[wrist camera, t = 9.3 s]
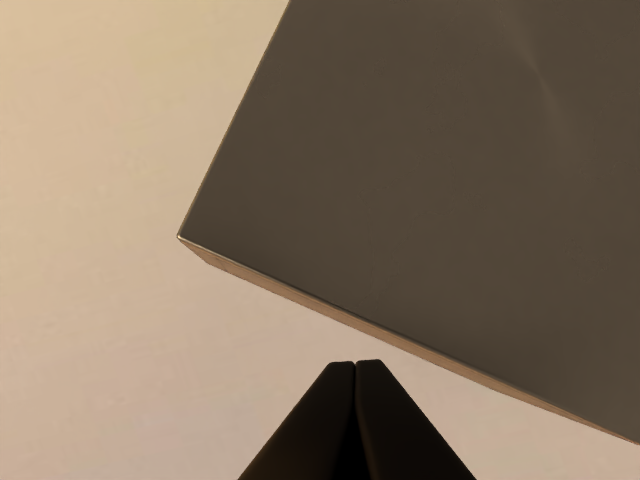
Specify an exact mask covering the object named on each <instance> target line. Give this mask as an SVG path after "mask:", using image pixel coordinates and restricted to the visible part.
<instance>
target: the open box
mask: <svg viewBox="0 0 640 480" xmlns="http://www.w3.org/2000/svg"><path fill="white" fill-rule="evenodd" d="M180 242H181V241H180ZM181 243H182V242H181ZM183 244H184V243H183ZM184 245H185V246H186V247H188V248H189V249H190V250H191V251H193V252H194V253H195V254H196V255H197V256H199V257H200V258H201V259H202V260H204V261H205V262H206V263H208V264H210V265H212V266H214V267H216V268H219V269H221V270H223V271H226V272H228V273H230V274H232V275H235V276H237V277H239V278H241V279H244V280H246V281H248V282H250V283H253V284H255V285H257V286H259V287H262V288H264V289H266V290H269V291H271V292H273V293H275V294H278V295H280V296H282V297H284V298H287V299H289V300H291V301H293V302H296V303H298V304H300V305H302V306H305V307H307V308H309V309H311V310H314V311H316V312H318V313H321V314H323V315H325V316H327V317H330V318H332V319H334V320H336V321H339V322H341V323H343V324H345V325H348V326H350V327H352V328H354V329H357V330H359V331H361V332H364V333H366V334H368V335H370V336H373V337H375V338H377V339H379V340H382V341H384V342H386V343H388V344H391V345H393V346H395V347H397V348H400V349H402V350H404V351H407V352H409V353H411V354H413V355H416V356H418V357H420V358H422V359H425V360H427V361H429V362H431V363H434V364H436V365H438V366H440V367H443V368H445V369H447V370H449V371H452V372H454V373H456V374H459V375H461V376H463V377H465V378H468V379H470V380H472V381H474V382H477V383H479V384H481V385H483V386H486V387H488V388H490V389H492V390H495V391H497V392H500V393H502V394H505V395H508V396H510V397H513V398H516V399H518V400H521V401H524V402H526V403H529V404H531V405H534V406H537V407H539V408H542V409H545V410H547V411H550V412H552V413H555V414H558V415H560V416H563V417H566V418H568V419H571V420H573V421H576V422H579V423H581V424H584V425H587V426H589V427H592V428H594V429H597V430H600V431H602V432H605V433H608V434H610V435H613V436H615V437H618V438H621V439H623V440H626V439H624V438H622V437H620V436H617V435H615V434H613V433H611V432H608V431H606V430H604V429H601V428H599V427H597V426H595V425H592V424H590V423H588V422H586V421H583V420H581V419H579V418H577V417H574V416H572V415H570V414H568V413H565V412H563V411H561V410H559V409H556V408H554V407H552V406H550V405H547V404H545V403H543V402H541V401H538V400H536V399H534V398H532V397H529V396H527V395H525V394H523V393H520V392H518V391H516V390H514V389H511V388H509V387H507V386H505V385H502V384H500V383H498V382H496V381H493V380H491V379H489V378H486V377H484V376H482V375H480V374H477V373H475V372H473V371H471V370H468V369H466V368H464V367H462V366H459V365H457V364H455V363H453V362H450V361H448V360H446V359H444V358H441V357H439V356H437V355H435V354H432V353H430V352H428V351H426V350H423V349H421V348H419V347H417V346H414V345H412V344H410V343H408V342H405V341H403V340H401V339H399V338H396V337H394V336H392V335H390V334H387V333H385V332H383V331H380V330H378V329H376V328H374V327H371V326H369V325H367V324H365V323H362V322H360V321H358V320H356V319H353V318H351V317H349V316H347V315H344V314H342V313H340V312H338V311H335V310H333V309H331V308H329V307H326V306H324V305H322V304H320V303H317V302H315V301H313V300H311V299H308V298H306V297H304V296H302V295H299V294H297V293H295V292H293V291H290V290H288V289H286V288H284V287H281V286H279V285H277V284H275V283H272V282H270V281H268V280H265V279H263V278H261V277H259V276H256V275H254V274H252V273H250V272H247V271H245V270H243V269H241V268H238V267H236V266H234V265H232V264H229V263H227V262H225V261H223V260H220V259H218V258H216V257H214V256H211V255H209V254H207V253H205V252H202V251H200V250H198V249H196V248H193V247H191V246H189V245H187V244H184ZM626 441H629V440H626ZM629 442H631V441H629ZM631 443H633V442H631ZM634 444H635V443H634ZM636 445H638V444H636Z"/></svg>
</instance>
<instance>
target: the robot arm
mask: <svg viewBox="0 0 640 480" xmlns="http://www.w3.org/2000/svg"><path fill="white" fill-rule="evenodd" d="M238 480H476V478H475V477H474V476H473V475H472V473H471V472H470V471H469V470H468V468H467V467H466V466H465V465H464V463H463V462H462V461H461V460H460V458H459V457H458V456H457V455H456V453H455V452H454V451H453V450H452V448H451V447H450V446H449V445H448V443H447V442H446V441H445V440H444V438H443V437H442V436H441V434H440V433H439V432H438V431H437V429H436V428H435V427H434V426H433V424H432V423H431V422H430V421H429V419H428V418H427V417H426V416H425V414H424V413H423V412H422V411H421V409H420V408H419V407H418V406H417V404H416V403H415V402H414V401H413V399H412V398H411V397H410V396H409V394H408V393H407V392H406V391H405V389H404V388H403V387H402V386H401V384H400V383H399V382H398V381H397V379H396V378H395V377H394V376H393V374H392V373H391V372H390V371H389V369H388V368H387V367H386V366H385V364H384V363H383V362H382V361H381V360H379V359H375V360H361V361H358V362H356V364H354V363H353V362H352V361H345V362H331V363H329V364H328V365H327V366H326V367H325V369H324V370H323V371H322V373H321V374H320V375H319V376H318V378H317V379H316V380H315V381H314V383H313V384H312V385H311V387H310V388H309V389H308V390H307V392H306V393H305V394H304V395H303V397H302V398H301V399H300V401H299V402H298V403H297V404H296V406H295V407H294V408H293V409H292V411H291V412H290V413H289V415H288V416H287V417H286V418H285V420H284V421H283V422H282V423H281V425H280V426H279V427H278V429H277V430H276V431H275V432H274V434H273V435H272V436H271V438H270V439H269V440H268V441H267V443H266V444H265V445H264V446H263V448H262V449H261V450H260V452H259V453H258V454H257V455H256V457H255V458H254V459H253V460H252V462H251V463H250V464H249V466H248V467H247V468H246V469H245V471H244V472H243V473H242V474H241V476H240V477H239V478H238Z"/></svg>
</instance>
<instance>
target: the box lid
mask: <svg viewBox="0 0 640 480" xmlns="http://www.w3.org/2000/svg"><path fill="white" fill-rule="evenodd" d="M177 238H178V239H179V240H180V241H181V242H182V243H184V244H187V245H189V246H191V247H193V248H196V249H198V250H200V251H202V252H205V253H207V254H209V255H211V256H214V257H216V258H218V259H220V260H223V261H225V262H227V263H229V264H232V265H234V266H236V267H238V268H241V269H243V270H245V271H247V272H250V273H252V274H254V275H256V276H259V277H261V278H263V279H265V280H268V281H270V282H272V283H275V284H277V285H279V286H281V287H284V288H286V289H288V290H290V291H293V292H295V293H297V294H299V295H302V296H304V297H306V298H308V299H311V300H313V301H315V302H317V303H320V304H322V305H324V306H326V307H329V308H331V309H333V310H335V311H338V312H340V313H342V314H344V315H347V316H349V317H351V318H353V319H356V320H358V321H360V322H362V323H365V324H367V325H369V326H371V327H374V328H376V329H378V330H380V331H383V332H385V333H387V334H390V335H392V336H394V337H396V338H399V339H401V340H403V341H405V342H408V343H410V344H412V345H414V346H417V347H419V348H421V349H423V350H426V351H428V352H430V353H432V354H435V355H437V356H439V357H441V358H444V359H446V360H448V361H450V362H453V363H455V364H457V365H459V366H462V367H464V368H466V369H468V370H471V371H473V372H475V373H477V374H480V375H482V376H484V377H486V378H489V379H491V380H493V381H496V382H498V383H500V384H502V385H505V386H507V387H509V388H511V389H514V390H516V391H518V392H520V393H523V394H525V395H527V396H529V397H532V398H534V399H536V400H538V401H541V402H543V403H545V404H547V405H550V406H552V407H554V408H556V409H559V410H561V411H563V412H565V413H568V414H570V415H572V416H574V417H577V418H579V419H581V420H583V421H586V422H588V423H590V424H592V425H595V426H597V427H599V428H601V429H604V430H606V431H608V432H611V433H613V434H615V435H617V436H620V437H622V438H624V439H626V440H629V441H631V442H633V443H635V444H638V445H640V0H289V2H288V5H287V7H286V9H285V11H284V13H283V15H282V17H281V19H280V21H279V23H278V25H277V27H276V29H275V32H274V34H273V36H272V38H271V40H270V42H269V44H268V46H267V48H266V50H265V52H264V54H263V56H262V59H261V61H260V63H259V65H258V67H257V69H256V71H255V73H254V75H253V77H252V79H251V81H250V83H249V86H248V88H247V90H246V92H245V94H244V96H243V98H242V100H241V102H240V104H239V106H238V108H237V110H236V112H235V115H234V117H233V119H232V121H231V123H230V125H229V127H228V129H227V131H226V133H225V135H224V137H223V139H222V142H221V144H220V146H219V148H218V150H217V152H216V154H215V156H214V158H213V160H212V162H211V164H210V166H209V169H208V171H207V173H206V175H205V177H204V179H203V181H202V183H201V185H200V187H199V189H198V191H197V193H196V196H195V198H194V200H193V202H192V204H191V206H190V208H189V210H188V212H187V214H186V216H185V218H184V220H183V223H182V225H181V227H180V229H179V231H178V233H177Z"/></svg>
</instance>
